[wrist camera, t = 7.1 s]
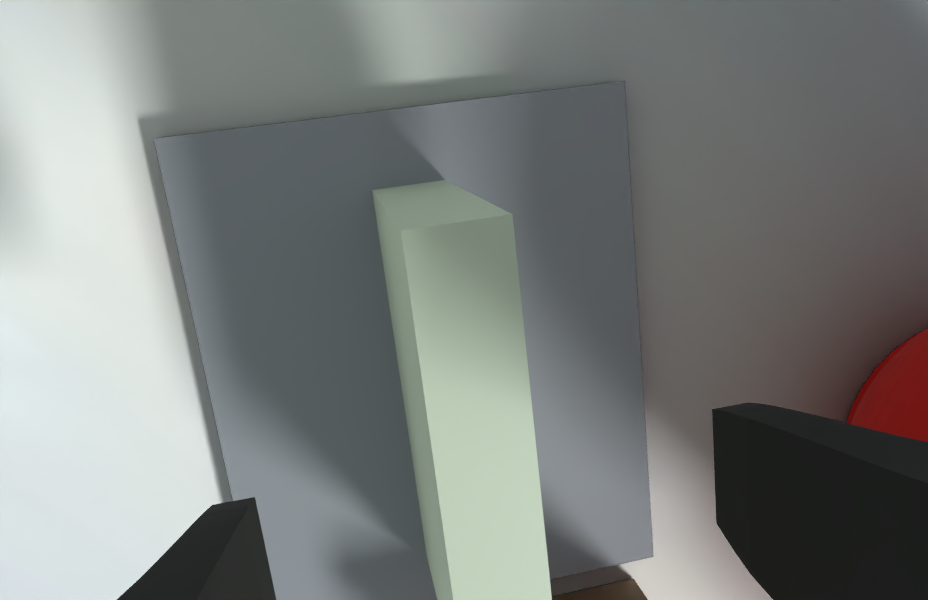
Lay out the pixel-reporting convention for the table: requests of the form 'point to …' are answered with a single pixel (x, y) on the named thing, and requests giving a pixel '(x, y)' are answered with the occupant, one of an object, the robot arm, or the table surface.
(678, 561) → the table surface
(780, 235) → the table surface
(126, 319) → the table surface
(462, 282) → the sage board
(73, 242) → the table surface
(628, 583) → the walnut rack
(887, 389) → the ceramic cup
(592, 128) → the slate mat
